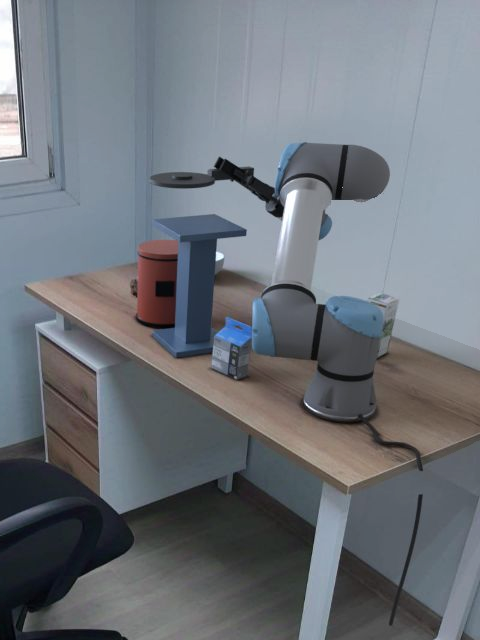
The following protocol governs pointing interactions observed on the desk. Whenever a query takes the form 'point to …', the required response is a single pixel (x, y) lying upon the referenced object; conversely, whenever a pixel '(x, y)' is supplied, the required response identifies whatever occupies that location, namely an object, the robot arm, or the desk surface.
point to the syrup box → (385, 318)
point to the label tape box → (232, 349)
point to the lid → (192, 178)
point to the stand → (194, 281)
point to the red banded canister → (157, 283)
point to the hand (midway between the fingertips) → (219, 162)
